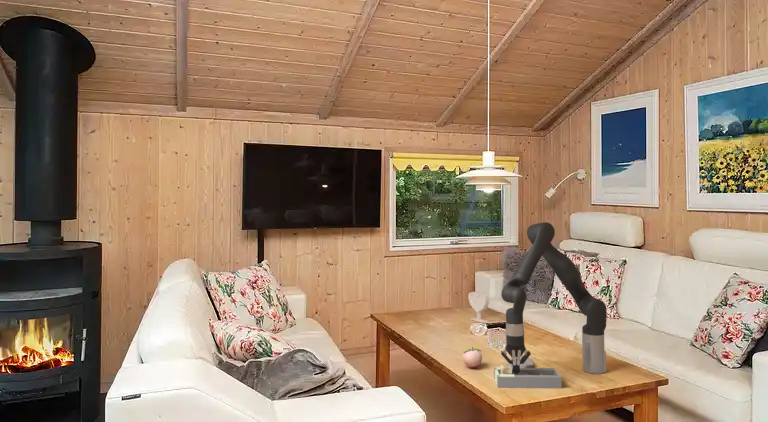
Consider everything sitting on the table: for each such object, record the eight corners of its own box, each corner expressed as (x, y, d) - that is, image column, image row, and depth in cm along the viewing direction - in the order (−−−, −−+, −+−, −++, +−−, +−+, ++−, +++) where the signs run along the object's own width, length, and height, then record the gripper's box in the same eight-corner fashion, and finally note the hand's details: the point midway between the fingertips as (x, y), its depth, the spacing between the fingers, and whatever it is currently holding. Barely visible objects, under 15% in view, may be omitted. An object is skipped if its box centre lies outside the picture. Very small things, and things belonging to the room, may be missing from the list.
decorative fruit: (469, 372, 229) (469, 350, 229) (459, 367, 237) (459, 346, 236) (486, 369, 233) (486, 348, 233) (476, 364, 240) (476, 343, 240)
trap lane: (554, 378, 220) (554, 367, 220) (561, 388, 208) (561, 376, 208) (494, 377, 222) (494, 367, 222) (498, 387, 210) (497, 376, 210)
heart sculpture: (467, 318, 330) (467, 291, 330) (473, 317, 333) (472, 290, 333) (485, 323, 318) (484, 294, 317) (490, 321, 320) (490, 293, 320)
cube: (510, 374, 218) (510, 364, 217) (511, 377, 214) (511, 368, 213) (500, 374, 218) (500, 364, 218) (502, 377, 214) (502, 368, 214)
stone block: (535, 369, 238) (515, 361, 244) (536, 359, 237) (517, 351, 243) (525, 377, 228) (504, 368, 234) (526, 367, 228) (506, 359, 234)
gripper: (528, 330, 218) (530, 369, 219) (497, 331, 219) (499, 370, 220) (532, 335, 211) (533, 376, 211) (500, 335, 212) (502, 376, 212)
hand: (516, 373), depth 215 cm, fingers closed
